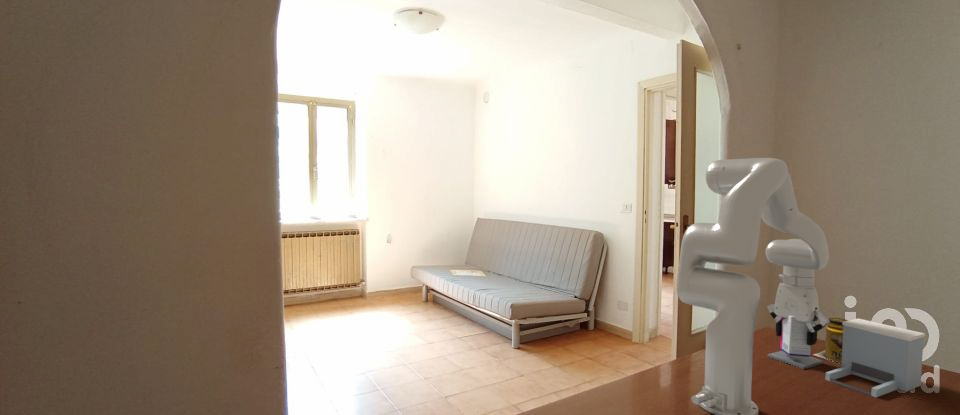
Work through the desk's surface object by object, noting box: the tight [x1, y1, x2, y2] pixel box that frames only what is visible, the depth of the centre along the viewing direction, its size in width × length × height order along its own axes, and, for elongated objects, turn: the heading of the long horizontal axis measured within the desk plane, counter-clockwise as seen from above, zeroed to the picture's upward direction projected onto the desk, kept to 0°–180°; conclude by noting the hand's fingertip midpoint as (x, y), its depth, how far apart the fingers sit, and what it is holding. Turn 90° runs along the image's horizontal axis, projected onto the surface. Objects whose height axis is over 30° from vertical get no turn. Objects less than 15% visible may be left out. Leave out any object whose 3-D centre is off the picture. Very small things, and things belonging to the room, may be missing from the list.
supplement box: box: [779, 316, 812, 357], centre depth 132 cm, size 6×6×12 cm
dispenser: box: [824, 318, 926, 398], centre depth 118 cm, size 19×14×14 cm
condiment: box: [812, 317, 849, 363], centre depth 134 cm, size 7×8×12 cm
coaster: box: [766, 350, 824, 370], centre depth 132 cm, size 10×10×1 cm
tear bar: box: [829, 379, 872, 397], centre depth 114 cm, size 1×9×1 cm, turn 26°
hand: (795, 339), depth 132 cm, fingers closed on supplement box, 7 cm apart
